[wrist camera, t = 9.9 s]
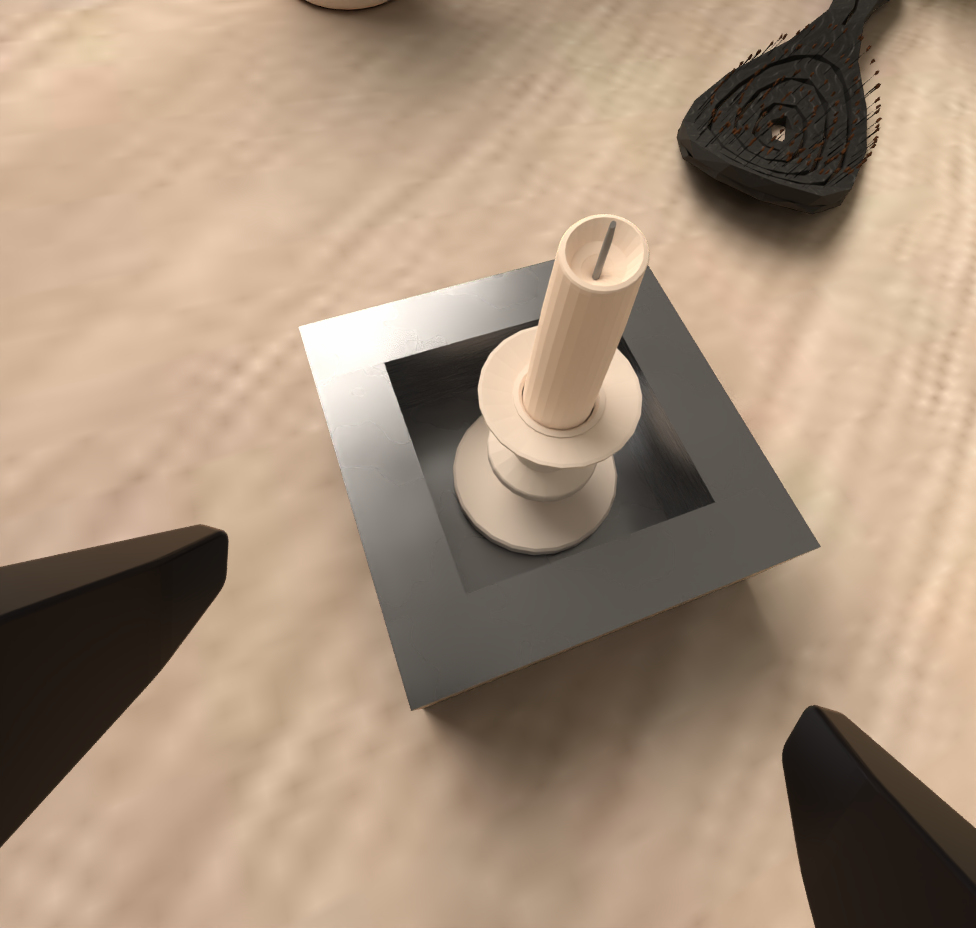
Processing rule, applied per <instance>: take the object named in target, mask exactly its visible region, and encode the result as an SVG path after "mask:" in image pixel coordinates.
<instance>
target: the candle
mask: <svg viewBox="0 0 976 928" xmlns="http://www.w3.org/2000/svg"><path fill="white" fill-rule="evenodd" d="M648 263H649V249H648V243H647V241H646V239H645V237H644V235H643V233H642V232H641V231H640V230H639V228H638V227H637V226H636V225H635V224H633V223H632V222H630V221H628V220H627V219H625V218H622V217H619V216H616V215H609V214H599V215H592V216H589V217H586V218H584V219H581V220H580V221H578V222H577V223H575V224H573V225H572V226H571V227H570V228H569V229H568V230H567V231H566V232H565V234H564V235H563V237H562V239H561V241H560V243H559V247H558V250H557V254H556V258H555V261H554V265H553V269H552V273H551V276H550V280H549V284H548V288H547V291H546V295H545V299H544V302H543V306H542V310H541V315H540V319H539V324H538V326H535V327H531V328H528V329H524V330H521V331H519V332H517V333H515V334H514V335H512V336H510V337H508V338H506V339H505V340H503V341H502V342H501V343H500V344H499V345H498V346H497V347H496V348H495V349H494V350H493V351H492V352H491V353H490V355H489V357H488V359H487V360H486V362H485V364H484V366H483V368H482V370H481V375H480V379H479V384H478V397H479V408H480V410H481V413H482V416H480V417H479V418H478V419H477V420H476V421H475V422H474V423H473V424H472V425H471V426H470V427H469V428H468V429H467V430H466V432H465V434H464V436H463V438H462V440H461V441H460V443H459V445H458V447H457V451H456V455H455V460H454V465H453V475H454V489H455V494H456V496H457V499H458V502H459V505H460V507H461V510H462V512H463V513H464V515H465V516H466V517H467V519H468V520H469V522H470V523H471V524H472V526H473V527H474V528H475V529H476V530H477V531H478V532H480V533H481V534H482V535H483V536H484V537H486V538H487V539H488V540H489V541H491V542H492V543H495V544H497V545H499V546H501V547H503V548H505V549H508V550H510V551H513V552H518V553H524V554H530V555H542V554H555V553H558V552H561V551H564V550H566V549H569V548H572V547H575V546H577V545H578V544H579V543H581V542H582V541H584V540H585V539H586V538H588V537H589V536H591V535H592V534H593V533H594V532H595V531H596V529H597V528H598V527H599V525H600V524H601V523H602V522H603V520H604V519H605V518H606V516H607V515H608V514H609V511H610V509H611V506H612V503H613V501H614V498H615V496H616V485H617V471H616V466H615V461H614V456H613V454H615V453H616V452H618V451H619V450H621V448H622V447H623V446H624V445H625V443H626V442H627V441H628V440H629V439H630V437H631V436H632V435H633V433H634V431H635V429H636V426H637V424H638V421H639V419H640V416H641V407H642V393H641V389H640V384H639V380H638V377H637V375H636V373H635V372H634V370H633V368H632V366H631V364H630V362H629V361H628V360H627V359H626V357H625V356H624V355H623V354H622V353H621V352H620V351H619V350H618V349H617V347H618V344H619V342H620V339H621V337H622V334H623V332H624V329H625V327H626V324H627V321H628V318H629V316H630V313H631V310H632V307H633V304H634V301H635V299H636V296H637V293H638V290H639V287H640V284H641V282H642V279H643V276H644V273H645V270H646V268H647V266H648Z"/></svg>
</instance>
